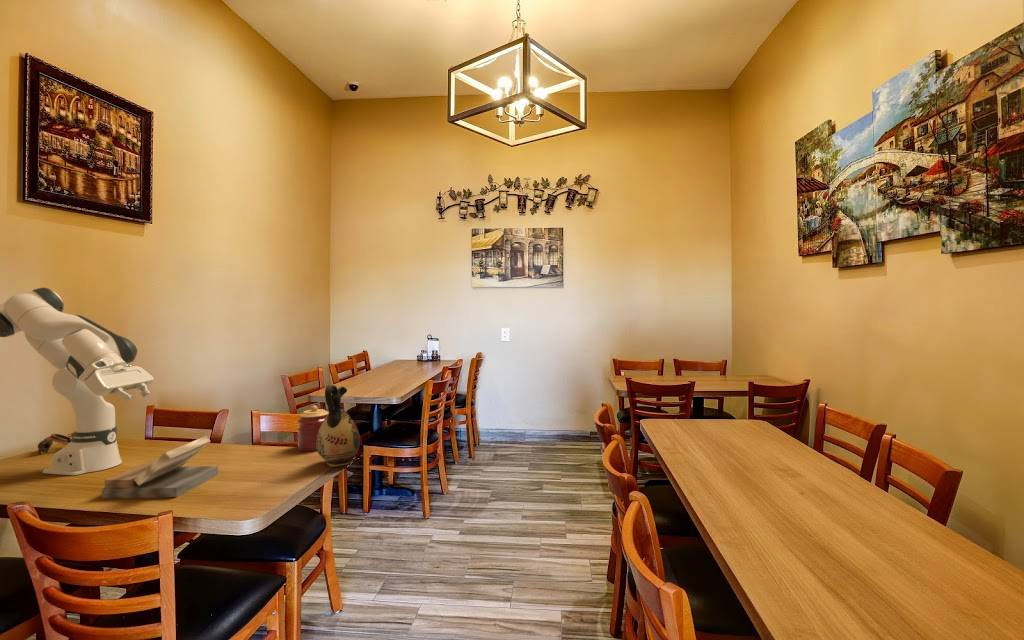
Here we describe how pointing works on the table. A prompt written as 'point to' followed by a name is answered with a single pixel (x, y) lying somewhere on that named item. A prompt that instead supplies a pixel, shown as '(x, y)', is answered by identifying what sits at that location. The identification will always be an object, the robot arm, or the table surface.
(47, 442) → the strapped headlamp
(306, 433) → the canister
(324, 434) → the ceramic jug
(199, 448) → the plank
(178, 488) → the grey flat block
